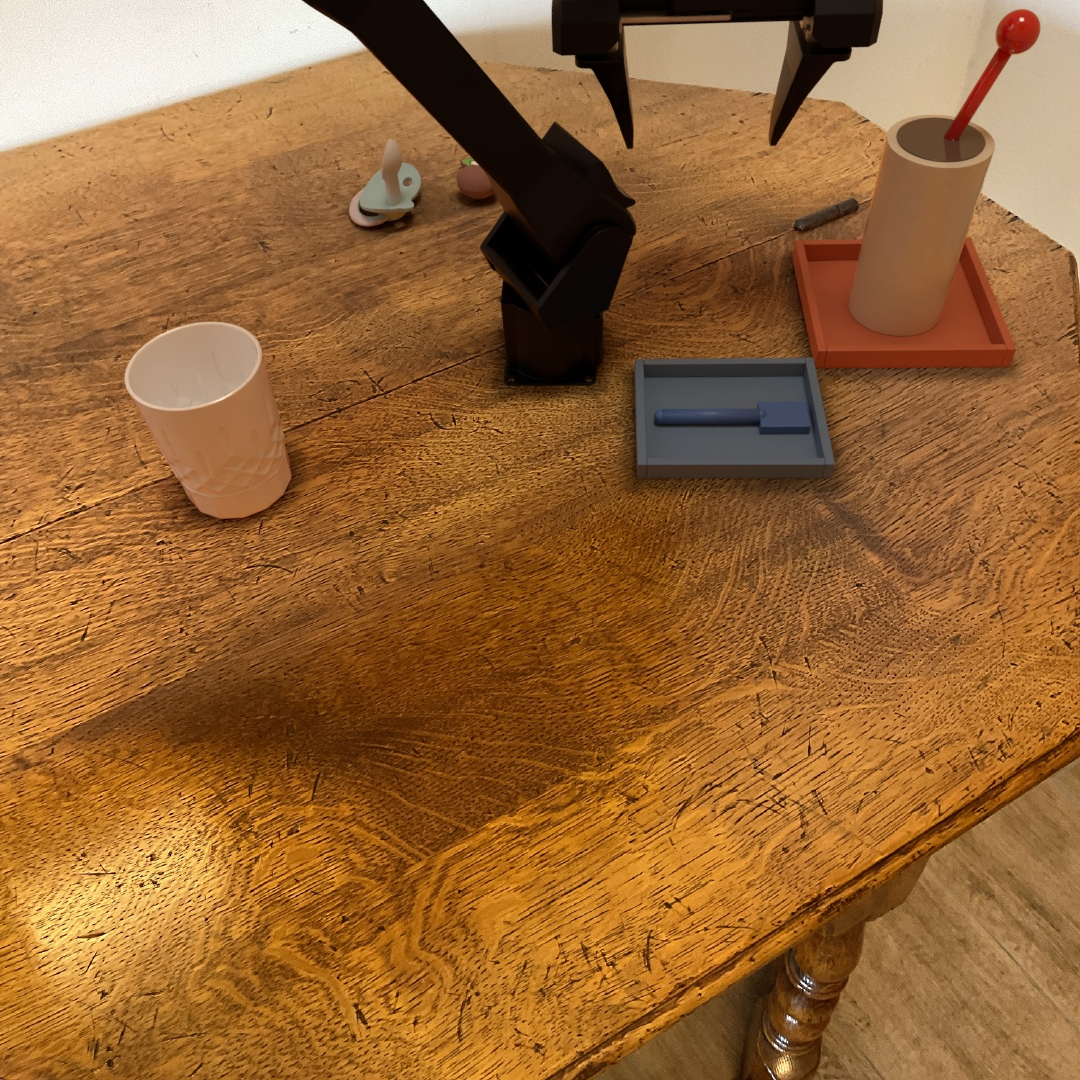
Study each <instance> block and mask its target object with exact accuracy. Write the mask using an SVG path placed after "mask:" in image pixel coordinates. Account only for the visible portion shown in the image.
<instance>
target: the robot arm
mask: <svg viewBox="0 0 1080 1080" xmlns="http://www.w3.org/2000/svg"><path fill="white" fill-rule="evenodd" d="M301 1H302V2H303V3H305V4H306V5H308V6H309V7H310V8H312V9H314V10H315V11H316V12H319V13H320V14H322V15H323V16H325V17H327V18H328V19H330V20H331V21H333V22H334V23H336V24H338V25H339V26H340V27H342V28H344V29H345V30H347V31H349V32H350V33H351V34H352V35H353V36H354V38H356V39H357V40H358V42H360V43H361V44H362V46H364V47H365V49H366V50H368V52H370V54H371V55H372V56H373V57H374V58H375V59H376V60H377V61H378V62H379V63H380V64H381V65H382V67H383V68H385V69H386V70H387V71H388V72H389V74H390V75H392V77H394V79H395V80H396V81H397V82H398V83H399V84H400V85H401V86H402V87H403V88H404V89H405V90H406V91H407V92H408V93H409V94H410V96H412V97H413V99H415V100H416V102H417V103H418V104H419V105H420V106H421V107H422V108H423V109H424V110H425V111H426V112H427V113H428V114H429V115H430V116H431V117H432V118H433V120H435V121H436V122H437V124H438V125H440V127H441V128H442V129H443V130H444V131H445V132H446V133H447V134H448V135H449V136H450V137H451V138H452V139H453V140H454V141H455V142H456V144H457V145H459V147H460V148H461V149H462V150H463V151H464V152H465V153H466V154H467V155H468V156H469V158H472V159H473V160H474V161H475V162H476V163H477V164H478V165H479V166H480V167H481V168H482V169H483V170H484V172H485V173H486V175H487V176H488V178H489V180H490V183H491V185H492V188H493V190H494V193H493V194H494V195H495V197H496V199H497V200H498V202H499V204H500V205H501V208H502V209H503V212H502V213H501V214H500V216H499V218H498V219H497V221H496V222H495V224H494V225H493V226H492V228H491V229H490V231H488V233H487V235H486V236H485V238H484V240H483V241H482V242H481V244H480V245H479V250H480V253H482V255H483V257H484V259H485V261H486V263H487V265H488V266H489V268H490V269H491V270H492V271H493V272H495V273H496V274H497V275H498V276H499V277H500V278H501V279H502V284H501V293H500V294H501V295H500V312H501V322H502V323H501V324H502V334H503V343H504V355H505V360H504V361H505V362H504V371H503V380H502V381H503V384H504V385H505V386H507V387H569V386H570V387H572V386H573V387H576V386H577V387H578V386H579V387H580V386H581V387H583V386H585V387H589V386H593V385H595V384H596V383H597V367H598V366H599V365H600V366H601V365H602V364H603V363H604V312H606V311H608V310H609V309H610V307H611V304H612V302H613V298H614V296H615V292H616V290H617V286H618V284H619V281H620V278H621V275H622V272H623V270H624V266H625V263H626V261H627V258H628V255H629V251H630V250H631V247H632V245H633V242H634V241H633V240H634V237H635V235H636V234H637V231H638V229H637V224H636V221H635V220H636V219H634V216H633V215H632V212H630V210H629V209H628V208H631V207H633V206H635V204H636V200H635V198H633V197H632V196H631V195H630V194H628V193H627V192H626V191H625V190H624V188H622V187H621V186H619V184H617V183H616V182H615V181H614V179H613V176H612V175H611V172H610V171H609V170H608V167H607V166H606V165H605V163H604V162H603V160H601V158H599V157H598V156H597V155H595V154H594V153H593V152H592V151H591V150H590V149H588V148H587V147H586V146H585V145H584V144H583V143H581V142H580V141H579V140H578V139H577V138H576V137H574V135H572V134H571V133H570V132H569V131H567V130H566V128H564V127H563V126H562V125H561V124H559V122H557V121H553V123H551V126H550V127H549V128H548V130H547V131H546V133H545V134H544V135H543V137H540V135H539V134H538V133H537V132H536V131H535V130H534V128H533V127H532V126H531V125H530V124H529V123H528V122H527V120H526V118H524V117H523V115H522V114H521V113H520V112H519V111H518V110H517V109H516V107H515V106H514V105H513V104H512V102H511V101H510V100H509V99H508V98H507V97H506V96H505V94H504V93H503V92H502V91H501V90H500V88H499V87H498V86H497V85H496V83H495V82H494V81H493V80H492V79H491V78H490V77H489V75H488V74H487V73H486V72H485V71H484V69H483V68H482V67H481V65H479V64H478V62H477V61H476V60H475V59H474V58H473V56H472V55H471V54H470V53H469V51H467V50H466V48H465V47H464V46H463V45H462V44H461V42H460V41H459V40H458V39H457V37H455V35H454V34H453V32H451V31H450V29H449V28H448V27H447V26H446V25H445V23H444V22H443V21H442V20H441V19H440V17H439V16H438V15H437V14H436V13H435V12H434V10H433V9H432V8H431V7H430V5H428V4H427V2H426V1H425V0H301ZM883 14H884V0H551V45H552V48H551V49H552V53H555V54H557V55H559V56H562V57H566V56H568V57H569V56H574V65H575V66H576V67H577V68H579V69H584V70H585V69H588V70H591V71H592V72H593V74H594V76H595V77H596V80H597V81H598V83H599V85H600V86H601V88H602V90H603V92H604V94H605V95H606V97H607V99H608V102H609V104H610V106H611V109H612V111H613V114H614V117H615V119H616V122H617V125H618V127H619V131H620V133H621V136H622V139H623V142H624V144H625V146H626V150H633V149H634V141H635V140H634V139H635V127H634V111H633V102H632V101H633V100H632V93H631V83H630V75H629V66H628V65H629V64H628V57H627V46H626V45H627V44H626V35H625V34H626V33H625V27H638V26H639V27H641V26H670V25H672V26H677V25H703V24H705V25H707V24H708V25H709V24H710V25H711V24H737V23H738V24H739V23H740V24H742V23H743V24H744V23H771V22H772V23H774V22H788V31H787V39H786V48H785V53H784V57H783V61H782V65H781V70H780V73H779V77H778V82H777V86H776V92H775V94H774V100H773V104H772V108H771V112H770V119H769V127H768V128H769V129H768V143H769V146H770V147H775V146H777V145H778V144H779V142H780V141H781V139H782V136H783V135H784V133H786V130H787V129H788V127H789V125H791V123H792V121H793V119H794V118H795V116H796V114H797V113H798V111H799V110H800V108H801V106H802V105H803V104H804V102H805V100H806V99H807V98H808V96H809V94H810V93H811V92H812V91H813V89H814V88H815V87H816V86H817V84H818V83H819V82H820V81H821V79H822V78H823V77H824V76H825V75H826V73H827V72H828V71H829V70H830V68H832V66H833V64H835V63H841V62H847V61H849V60H850V59H851V57H852V53H853V48H870V47H871V46H873V45H875V44H877V42H878V39H879V35H880V29H881V24H882V19H883ZM588 379H591V381H588ZM508 380H513V381H508Z"/></svg>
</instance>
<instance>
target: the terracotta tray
mask: <svg viewBox="0 0 1080 1080" xmlns="http://www.w3.org/2000/svg"><path fill="white" fill-rule="evenodd" d="M862 239H863V238H856V239H855V238H854V239H853V238H851V239H795V241H794V245H793V251H792V257H791V259H792V264H793V268H794V275H795V278H796V283H797V288H798V294H799V298H800V303H801V308H802V313H803V317H804V318H803V319H804V322H805V328H806V332H807V337H808V342H809V348H810V353H811V358H814V363H815V368H816V369H908V368H910V369H911V368H913V369H914V368H915V369H916V368H917V369H919V368H924V369H925V368H1009V367H1010V366H1011V363H1012V361H1013V358H1014V356H1015V353H1016V351H1017V348H1016V345H1015V343H1014V340H1013V338H1012V335H1011V333H1010V331H1009V328H1008V326H1007V323H1006V321H1005V318H1004V316H1003V314H1002V311H1001V308H1000V306H999V303H998V301H997V299H996V295H995V294H994V291H993V289H992V287H991V284H990V282H989V279H988V277H987V274H986V272H985V270H984V269H985V268H984V267H983V264H982V262H981V259H980V256H979V254H978V252H977V250H976V246H975V245H974V242H973V240H972V238H971V237H966V240H965V243H964V246H963V249H962V252H961V255H960V258H959V262H958V265H957V268H956V271H955V274H954V277H953V280H952V283H951V286H950V289H949V293H948V296H947V299H946V302H945V305H944V308H943V311H942V314H941V317H940V320H939V322H938V323H937V324H936V325H935V326H934V327H933V328H932V329H930V330H928V331H926V332H924V333H921V334H918V335H913V336H891V335H885V334H881V333H878V332H875V331H872V330H870V329H868V328H866V327H864V326H863V325H861V324H860V323H859V322H857V321H856V320H855V319H854V318H853V316H852V315H851V313H850V311H849V308H848V300H849V295H850V291H851V287H852V282H853V278H854V274H855V269H856V265H857V261H858V256H859V252H860V248H861V243H862Z"/></svg>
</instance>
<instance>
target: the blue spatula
mask: <svg viewBox="0 0 1080 1080" xmlns="http://www.w3.org/2000/svg"><path fill="white" fill-rule="evenodd" d="M654 420H655V421H656V422H657V423H658V424H759V430H760V434H809V433H810V428H811V424H810V419H809V414H808V408H807V403H806V402H758V404H757V409H659V410H657V411H656V412H655V414H654Z"/></svg>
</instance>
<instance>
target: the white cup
mask: <svg viewBox="0 0 1080 1080" xmlns="http://www.w3.org/2000/svg"><path fill="white" fill-rule="evenodd" d="M124 384H125V385H124V386H125V388H126V391H127V392H128V394H129V396H130V398H131V400H132V402H133V403H134V405H135V407H136V408H137V410H138V412H139V414H140V416H141V418H142V420H143V421H144V424H145V425H146V427H147V429H148V430H149V432H150V434H151V437H152V439H153V440H154V441H155V444H156V445H157V447H158V449H159V451H160V453H161V454H162V456H163V458H164V460H165V461H166V462H167V465H168V466H169V468H170V469H171V471H172V473H173V474H174V476H175V478H176V479H177V480H178V481H179V482H180V484H181V486H182V488H183V490H184V492H185V493H186V496H187V497H188V499H189V500H190V502H191V503H192V504H193V505H194V506H195V508H196V509H197V510H198V511H199V512H200V513H202V514H205V515H208V516H210V517H214V518H216V519H220V520H223V519H225V520H226V519H242V518H243V519H244V518H246V517H249V516H251V515H254V514H257V513H259V512H262V511H265V510H267V509H268V508H269V507H271V506H272V505H273V504H274V503H275V502H277V501H278V500H279V499H280V498H281V497H282V496H284V494H285V492H286V490H287V488H288V486H289V484H290V482H291V479H292V471H291V464H290V463H291V462H290V458H289V454H288V451H287V448H286V444H285V443H286V442H285V441H286V437H285V433H284V430H283V427H282V421H281V416H280V413H279V409H278V405H277V401H276V398H275V397H276V396H275V394H274V390H273V387H272V383H271V379H270V375H269V371H268V367H267V364H266V361H265V356H264V353H263V348H262V346H261V344H260V341H259V340H258V339H257V337H256V336H255V335H254V334H253V333H252V332H251V331H249V330H248V329H245V328H244V327H242V326H240V325H237V324H233V323H228V322H224V321H199V322H194V323H188V324H184V325H181V326H178V327H177V326H176V327H174V328H171V329H169V330H167V331H165V332H163V333H160V334H159V335H157V336H155V337H153V338H152V339H150V340H149V341H147V342H146V343H144V344H143V345H142V346H141V347H140V348H139V349H138V350H137V351H136V352H135V353H134V354H133V355H132V357H131V359H129V362H128V363H127V365H126V368H125V371H124Z"/></svg>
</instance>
